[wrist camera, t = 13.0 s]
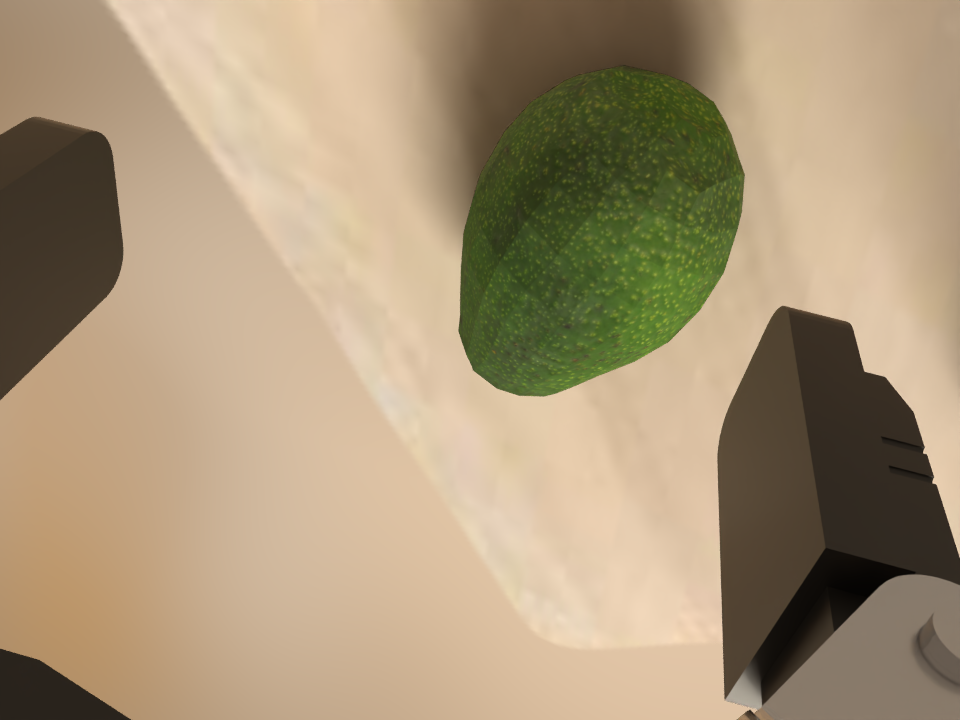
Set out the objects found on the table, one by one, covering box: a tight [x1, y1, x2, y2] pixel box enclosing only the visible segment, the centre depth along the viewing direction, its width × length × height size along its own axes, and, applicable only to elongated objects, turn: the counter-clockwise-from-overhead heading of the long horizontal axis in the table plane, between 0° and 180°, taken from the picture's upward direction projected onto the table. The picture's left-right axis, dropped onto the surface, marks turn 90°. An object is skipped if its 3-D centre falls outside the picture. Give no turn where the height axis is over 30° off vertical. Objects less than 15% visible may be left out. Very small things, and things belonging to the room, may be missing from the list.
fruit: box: [459, 65, 745, 396], centre depth 34 cm, size 15×10×10 cm, turn 152°
